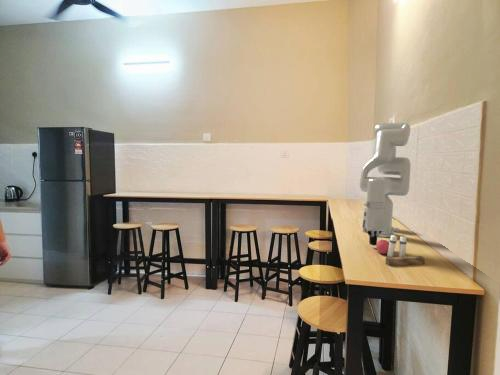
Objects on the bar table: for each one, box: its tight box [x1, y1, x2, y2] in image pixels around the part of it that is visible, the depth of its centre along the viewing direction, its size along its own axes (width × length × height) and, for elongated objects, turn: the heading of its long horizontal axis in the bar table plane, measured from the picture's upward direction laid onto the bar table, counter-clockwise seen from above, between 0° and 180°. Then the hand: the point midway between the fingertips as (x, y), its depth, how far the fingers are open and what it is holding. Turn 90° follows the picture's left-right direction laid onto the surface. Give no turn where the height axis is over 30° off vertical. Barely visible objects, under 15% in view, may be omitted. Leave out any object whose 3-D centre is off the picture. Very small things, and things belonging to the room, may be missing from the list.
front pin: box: [386, 234, 398, 258], centre depth 132 cm, size 3×3×9 cm
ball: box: [375, 239, 390, 255], centre depth 137 cm, size 6×6×6 cm
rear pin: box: [398, 235, 408, 257], centre depth 131 cm, size 3×3×9 cm
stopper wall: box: [385, 255, 426, 267], centre depth 124 cm, size 16×2×2 cm, turn 101°
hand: (372, 244), depth 146 cm, fingers closed
